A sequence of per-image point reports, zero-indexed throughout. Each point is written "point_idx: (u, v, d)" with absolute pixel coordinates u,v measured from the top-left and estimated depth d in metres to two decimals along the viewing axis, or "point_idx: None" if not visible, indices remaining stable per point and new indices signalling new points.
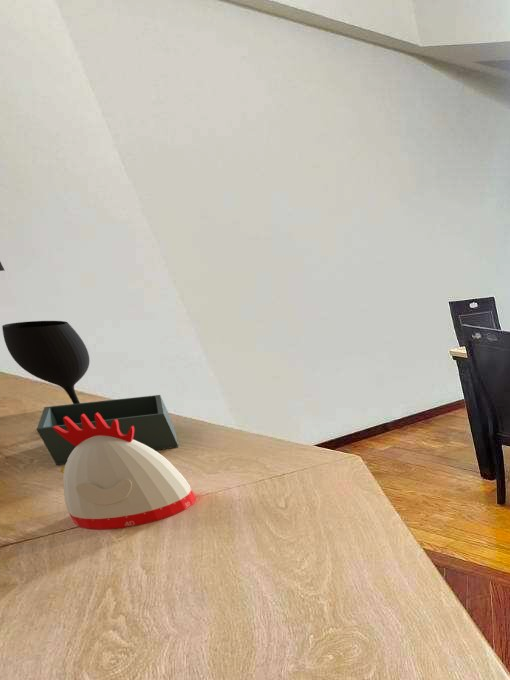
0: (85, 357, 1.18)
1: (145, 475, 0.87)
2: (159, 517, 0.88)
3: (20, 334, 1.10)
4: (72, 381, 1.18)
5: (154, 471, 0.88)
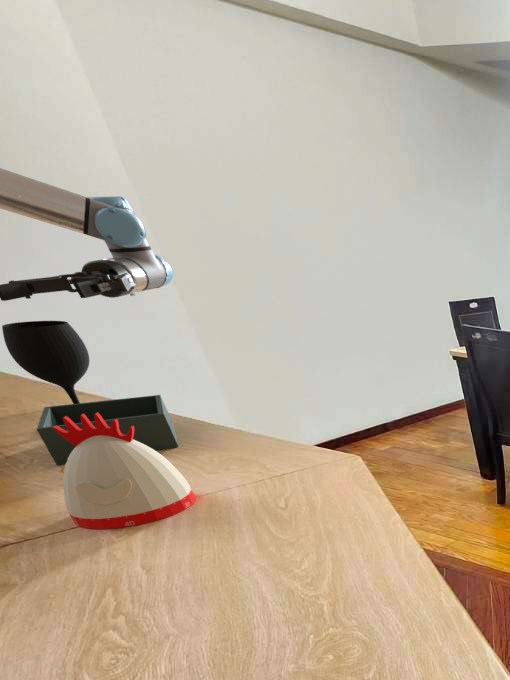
0: (85, 357, 1.18)
1: (145, 475, 0.87)
2: (159, 517, 0.88)
3: (20, 334, 1.10)
4: (72, 381, 1.18)
5: (154, 471, 0.88)
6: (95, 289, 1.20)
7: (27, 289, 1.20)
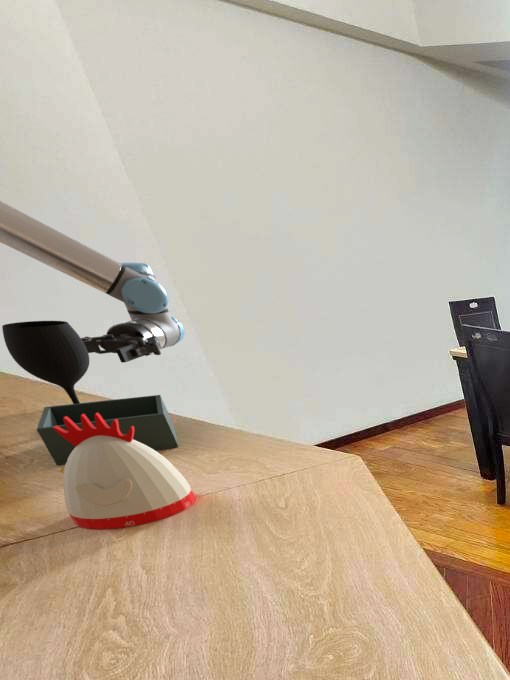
0: (85, 357, 1.18)
1: (145, 475, 0.87)
2: (159, 517, 0.88)
3: (20, 334, 1.10)
4: (72, 381, 1.18)
5: (154, 471, 0.88)
6: (133, 353, 1.28)
7: None
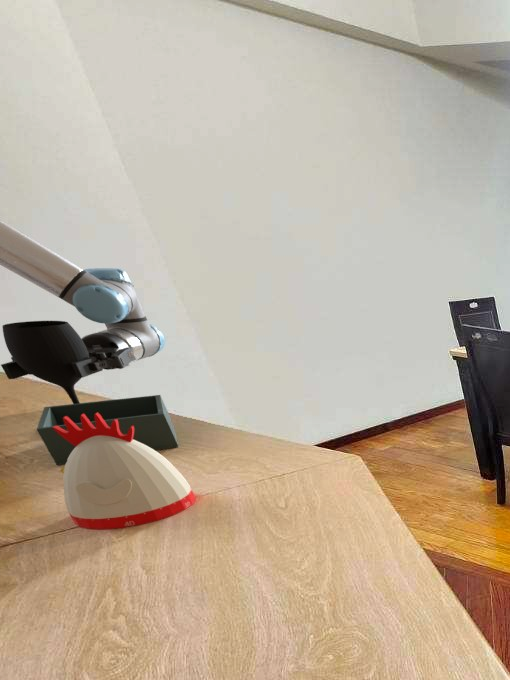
0: (85, 357, 1.18)
1: (145, 475, 0.87)
2: (159, 517, 0.88)
3: (20, 334, 1.10)
4: (72, 381, 1.18)
5: (154, 471, 0.88)
6: (92, 368, 1.18)
7: None
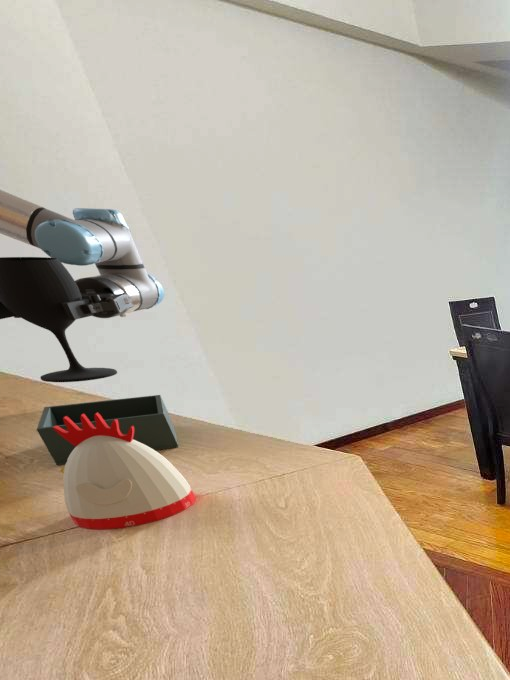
0: (77, 298, 1.06)
1: (145, 475, 0.87)
2: (159, 517, 0.88)
3: (4, 268, 0.98)
4: (63, 325, 1.07)
5: (154, 471, 0.88)
6: (85, 310, 1.07)
7: None
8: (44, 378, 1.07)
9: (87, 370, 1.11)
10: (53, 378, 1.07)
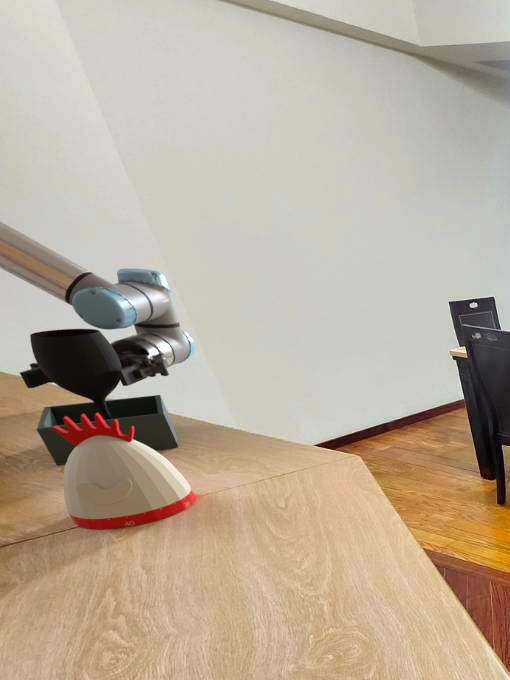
0: (118, 368, 1.09)
1: (145, 475, 0.87)
2: (159, 517, 0.88)
3: (50, 344, 1.01)
4: (104, 394, 1.09)
5: (154, 471, 0.88)
6: (136, 375, 1.10)
7: None
8: None
9: None
10: None
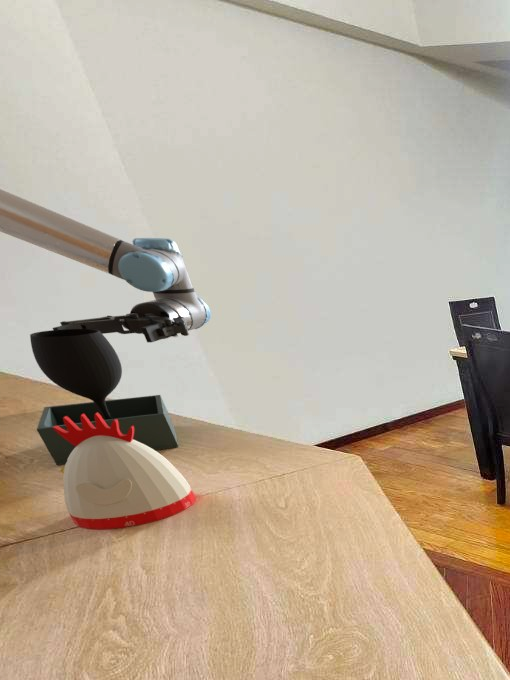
0: (118, 368, 1.09)
1: (145, 475, 0.87)
2: (159, 517, 0.88)
3: (50, 344, 1.01)
4: (104, 394, 1.09)
5: (154, 471, 0.88)
6: (159, 333, 1.18)
7: None
8: None
9: None
10: None
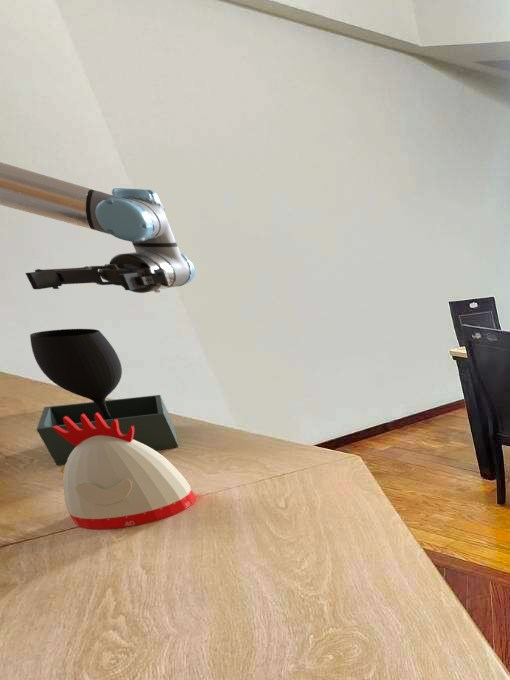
0: (118, 368, 1.09)
1: (145, 475, 0.87)
2: (159, 517, 0.88)
3: (50, 344, 1.01)
4: (104, 394, 1.09)
5: (154, 471, 0.88)
6: (138, 282, 1.14)
7: (57, 279, 1.12)
8: None
9: None
10: None
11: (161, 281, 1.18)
